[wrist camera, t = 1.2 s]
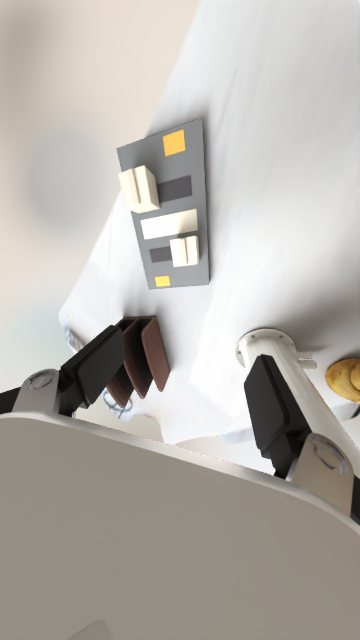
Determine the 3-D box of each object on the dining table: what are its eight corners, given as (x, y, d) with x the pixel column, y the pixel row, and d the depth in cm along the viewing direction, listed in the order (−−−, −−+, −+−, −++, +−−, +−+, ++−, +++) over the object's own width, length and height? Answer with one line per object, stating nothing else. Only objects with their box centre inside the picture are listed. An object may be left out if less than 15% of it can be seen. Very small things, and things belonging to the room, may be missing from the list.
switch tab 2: (198, 236, 25) (194, 235, 21) (199, 261, 27) (196, 264, 23) (175, 240, 26) (168, 239, 22) (178, 264, 28) (172, 267, 24)
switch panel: (202, 127, 21) (201, 116, 19) (209, 282, 30) (209, 284, 29) (123, 155, 24) (116, 148, 22) (152, 287, 34) (148, 289, 32)
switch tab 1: (155, 177, 23) (142, 163, 19) (160, 208, 24) (149, 202, 20) (132, 183, 23) (115, 171, 20) (138, 213, 25) (124, 208, 21)
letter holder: (142, 370, 48) (118, 413, 36) (122, 317, 40) (82, 350, 28) (170, 371, 46) (154, 418, 34) (156, 315, 37) (127, 350, 25)
